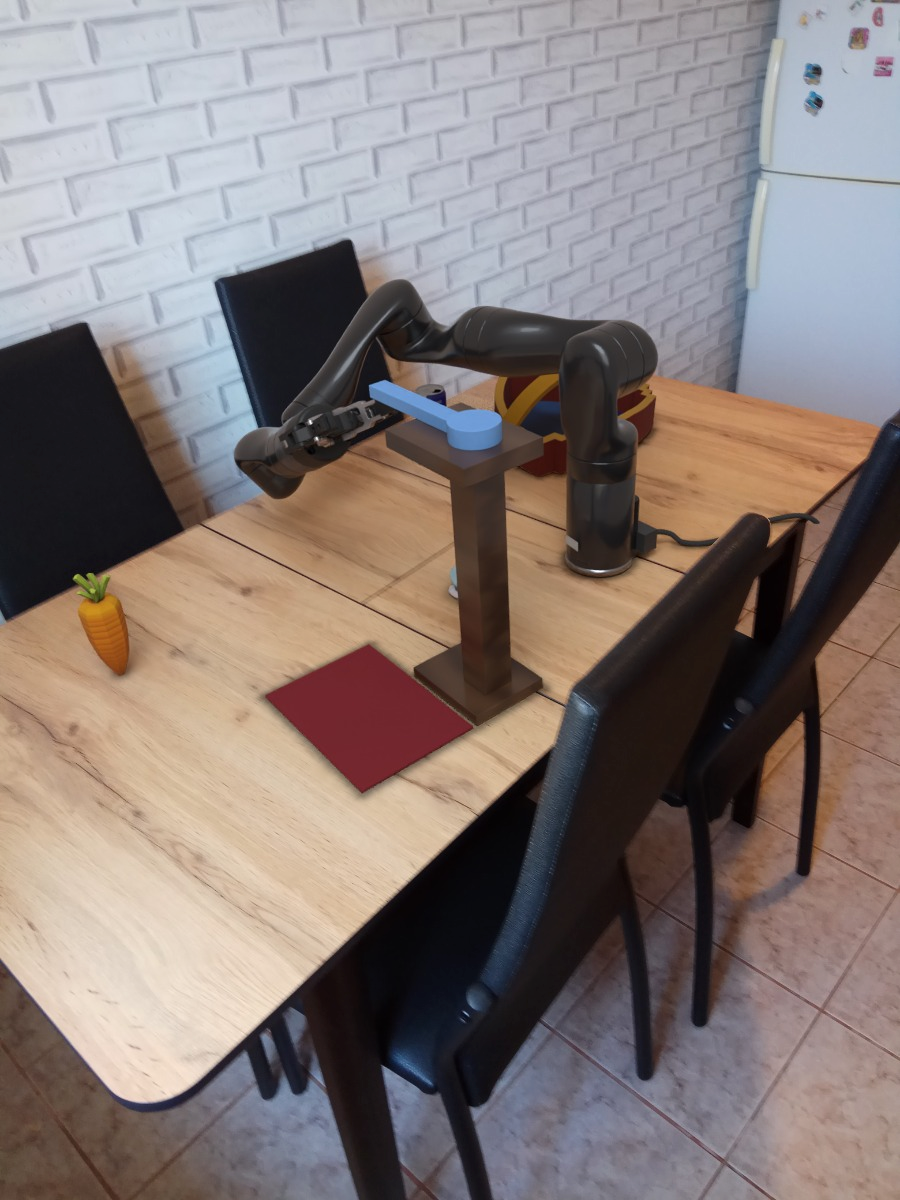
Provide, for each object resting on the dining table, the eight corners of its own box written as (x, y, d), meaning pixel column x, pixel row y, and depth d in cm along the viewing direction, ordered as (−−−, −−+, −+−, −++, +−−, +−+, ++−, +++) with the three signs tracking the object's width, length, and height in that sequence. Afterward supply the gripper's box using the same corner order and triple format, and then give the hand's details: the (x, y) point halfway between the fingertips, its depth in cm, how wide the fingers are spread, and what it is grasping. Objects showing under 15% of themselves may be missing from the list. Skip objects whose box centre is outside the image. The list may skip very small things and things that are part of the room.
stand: (475, 641, 117) (460, 402, 100) (545, 690, 109) (543, 436, 91) (411, 674, 113) (384, 429, 95) (479, 728, 104) (463, 469, 86)
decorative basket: (556, 504, 151) (568, 422, 141) (437, 432, 167) (440, 354, 157) (682, 440, 169) (700, 363, 159) (564, 381, 185) (574, 308, 175)
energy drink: (446, 461, 162) (441, 395, 155) (416, 460, 163) (410, 394, 156) (452, 448, 166) (448, 383, 159) (423, 447, 167) (418, 383, 160)
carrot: (149, 665, 118) (118, 564, 109) (126, 689, 114) (92, 587, 105) (117, 659, 119) (84, 559, 111) (92, 682, 115) (56, 581, 107)
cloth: (369, 645, 118) (369, 643, 118) (473, 728, 104) (473, 726, 104) (265, 697, 111) (264, 695, 111) (361, 793, 97) (361, 791, 96)
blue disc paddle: (397, 387, 104) (396, 370, 103) (513, 438, 91) (513, 419, 90) (357, 401, 102) (355, 383, 101) (471, 455, 88) (469, 436, 87)
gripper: (251, 428, 117) (297, 396, 103) (346, 397, 124) (401, 362, 110) (274, 484, 118) (323, 460, 104) (367, 450, 125) (424, 422, 111)
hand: (363, 410), depth 107 cm, fingers open, 8 cm apart
